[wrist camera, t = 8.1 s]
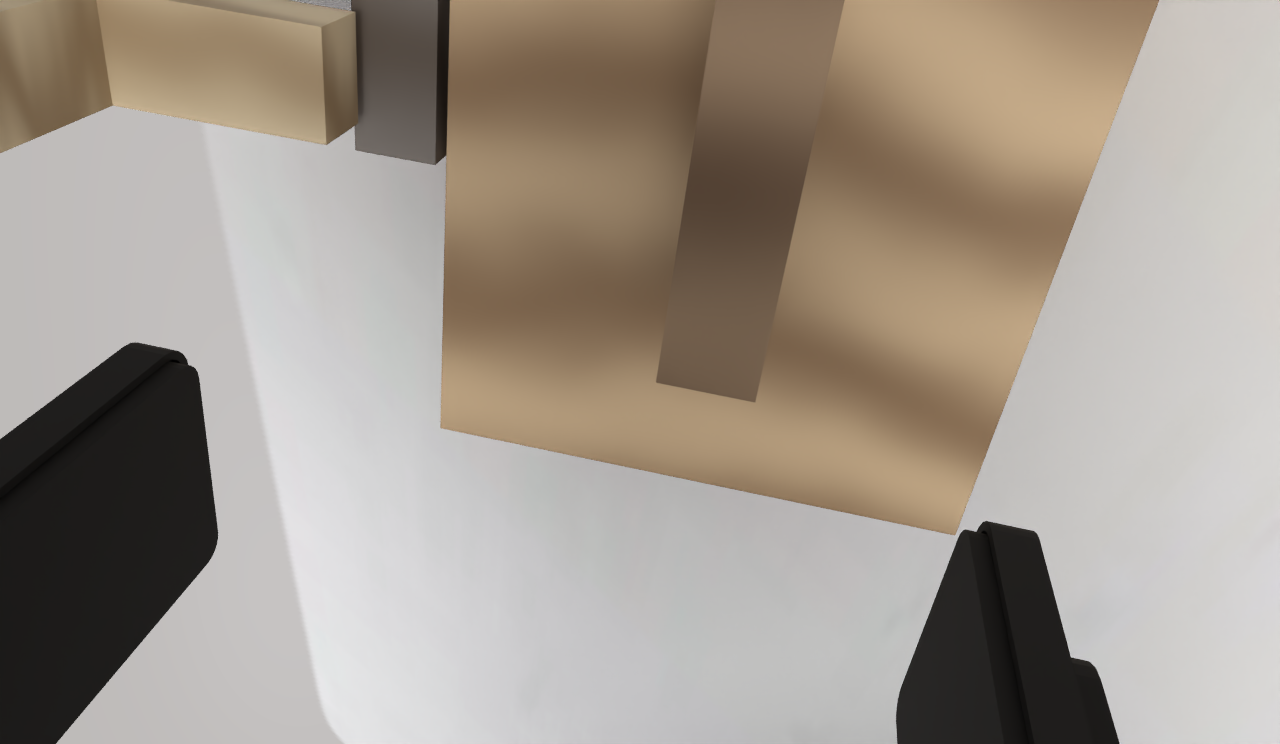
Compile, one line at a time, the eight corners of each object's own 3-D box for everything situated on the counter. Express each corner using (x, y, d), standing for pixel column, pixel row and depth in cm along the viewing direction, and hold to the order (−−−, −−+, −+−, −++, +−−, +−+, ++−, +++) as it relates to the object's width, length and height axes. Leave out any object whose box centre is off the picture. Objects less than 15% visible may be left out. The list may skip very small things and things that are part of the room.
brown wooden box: (919, 349, 41) (943, 516, 31) (468, 262, 42) (361, 395, 33) (1121, -289, 29) (1253, -329, 20) (491, -374, 31) (339, -448, 21)
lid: (951, 511, 32) (973, 651, 27) (452, 408, 34) (380, 522, 28) (1272, -350, 20) (1423, -400, 15) (477, -452, 22) (362, -531, 16)
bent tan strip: (358, 123, 27) (199, 231, 21) (59, 68, 28) (-190, 155, 21) (355, 11, 26) (181, 88, 19) (38, -43, 27) (-237, 12, 20)
